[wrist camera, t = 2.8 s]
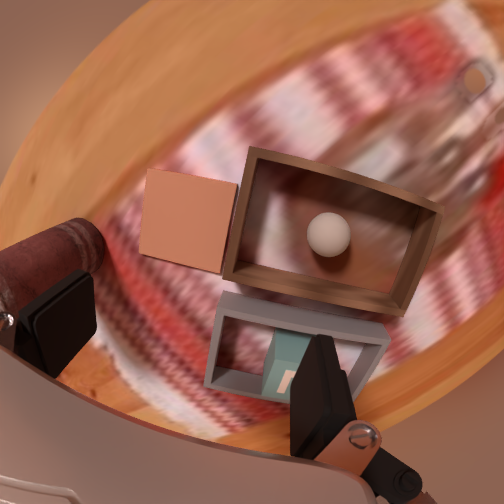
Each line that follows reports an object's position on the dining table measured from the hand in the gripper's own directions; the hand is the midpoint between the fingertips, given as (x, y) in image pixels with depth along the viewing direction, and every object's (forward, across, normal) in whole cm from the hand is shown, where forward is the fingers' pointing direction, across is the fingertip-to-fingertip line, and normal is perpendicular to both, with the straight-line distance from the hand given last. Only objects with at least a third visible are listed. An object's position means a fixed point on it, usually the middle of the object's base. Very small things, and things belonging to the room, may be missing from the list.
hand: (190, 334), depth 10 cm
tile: (+14, +5, 0) cm, 15 cm away
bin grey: (+14, -8, +11) cm, 19 cm away
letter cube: (+14, -8, +11) cm, 20 cm away
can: (+14, +16, +5) cm, 22 cm away
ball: (+14, -7, -2) cm, 16 cm away
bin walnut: (+14, -8, -2) cm, 16 cm away
